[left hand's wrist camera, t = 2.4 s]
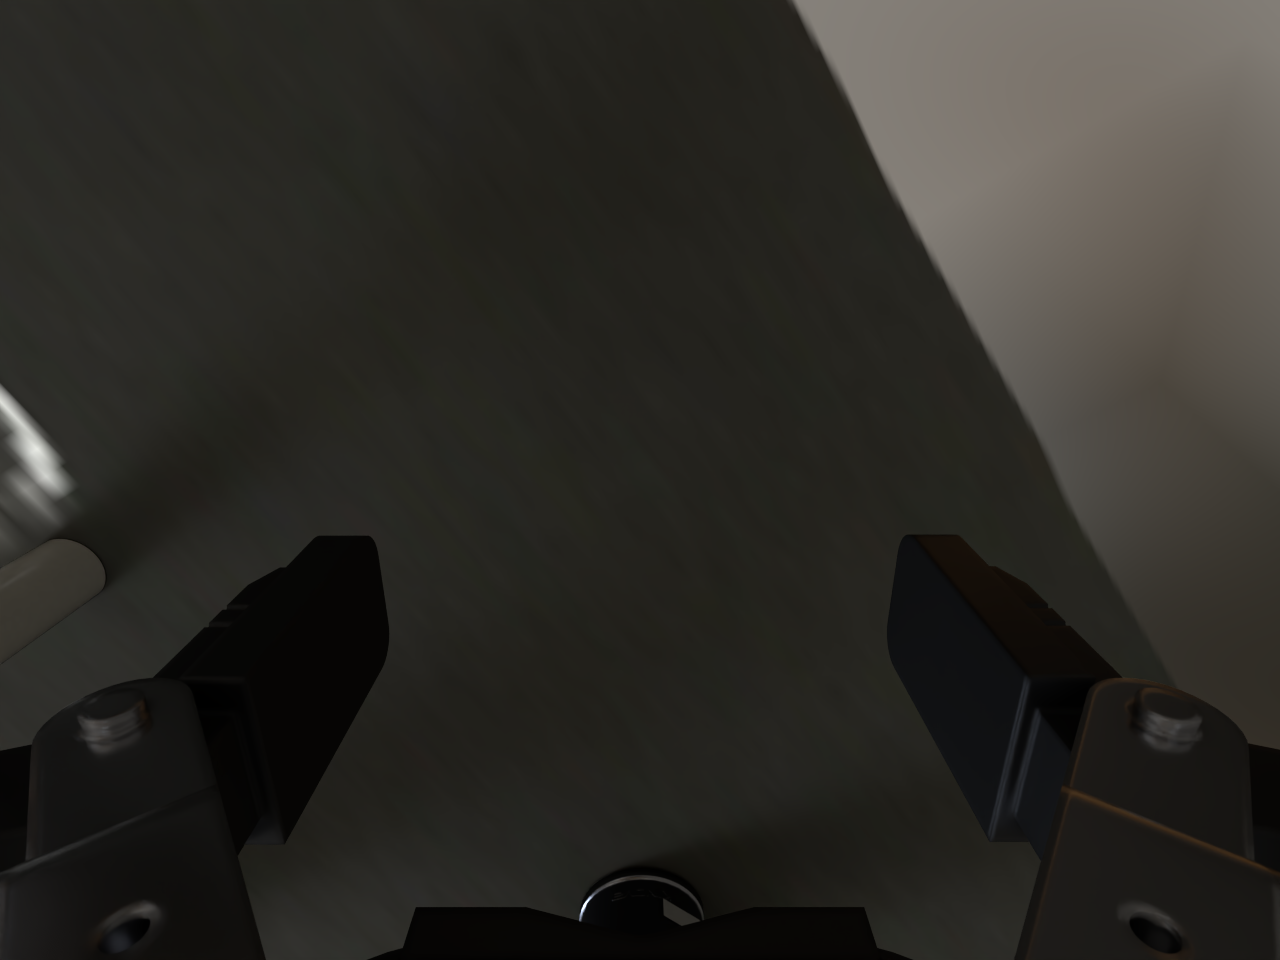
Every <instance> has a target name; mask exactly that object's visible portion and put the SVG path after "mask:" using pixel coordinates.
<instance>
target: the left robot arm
mask: <svg viewBox="0 0 1280 960" xmlns="http://www.w3.org/2000/svg"><path fill="white" fill-rule="evenodd" d="M887 641H888V649H889V654H890V658H891V661H892V664H893V666H894V668H895V670H896V672H897V673H898V675H899V677H900V679H901V681H902V682H903V684H904V686H905V688H906V690H907V692H908V693H909V695H910V697H911V699H912V701H913V703H914V704H915V706H916V708H917V710H918V712H919V714H920V715H921V717H922V719H923V721H924V723H925V724H926V726H927V728H928V730H929V732H930V734H931V735H932V737H933V739H934V741H935V743H936V745H937V746H938V748H939V750H940V752H941V754H942V756H943V757H944V759H945V761H946V763H947V765H948V766H949V768H950V770H951V772H952V774H953V776H954V777H955V779H956V781H957V783H958V785H959V787H960V788H961V790H962V792H963V794H964V796H965V798H966V799H967V801H968V803H969V805H970V807H971V808H972V810H973V812H974V814H975V816H976V818H977V819H978V821H979V823H980V825H981V827H982V829H983V830H984V832H985V834H986V836H987V838H988V840H989V841H990V842H1030V844H1031V845H1032V847H1033V849H1034V850H1035V852H1036V854H1037V855H1038V857H1039V858H1040V860H1041V863H1040V867H1039V871H1038V874H1037V878H1036V882H1035V885H1034V889H1033V893H1032V896H1031V900H1030V903H1029V907H1028V911H1027V914H1026V918H1025V922H1024V925H1023V929H1022V933H1021V936H1020V940H1019V944H1018V947H1017V951H1016V955H1015V958H1014V960H1280V750H1278V749H1273V748H1268V747H1263V746H1258V745H1253V744H1248V742H1247V739H1246V738H1245V736H1244V734H1243V732H1242V731H1241V730H1240V728H1239V727H1238V726H1237V725H1236V724H1235V723H1234V722H1233V721H1232V720H1231V719H1230V718H1229V717H1227V716H1226V715H1225V714H1223V713H1222V712H1221V711H1219V710H1218V709H1216V708H1215V707H1213V706H1212V705H1210V704H1208V703H1207V702H1205V701H1203V700H1201V699H1199V698H1197V697H1195V696H1193V695H1191V694H1188V693H1186V692H1184V691H1182V690H1179V689H1176V688H1173V687H1170V686H1167V685H1164V684H1160V683H1157V682H1152V681H1147V680H1142V679H1134V678H1122V677H1121V676H1120V675H1119V674H1118V673H1117V672H1116V671H1115V670H1114V669H1113V668H1112V667H1111V666H1110V665H1109V664H1108V663H1107V662H1106V661H1105V660H1104V659H1103V658H1102V657H1101V656H1100V655H1099V654H1098V653H1097V652H1096V651H1095V650H1094V649H1093V648H1092V647H1091V646H1090V645H1089V644H1088V643H1087V642H1086V641H1085V640H1084V639H1083V638H1082V637H1081V636H1080V635H1079V634H1078V633H1077V632H1076V631H1075V630H1074V629H1073V628H1072V627H1071V626H1066V625H1065V621H1064V620H1063V619H1062V618H1061V617H1060V616H1059V615H1058V614H1057V613H1056V612H1055V611H1054V610H1053V609H1052V608H1048V604H1047V603H1046V602H1045V601H1044V600H1043V599H1042V598H1041V597H1040V596H1039V595H1038V594H1037V593H1036V592H1035V591H1034V590H1033V589H1032V588H1031V587H1030V586H1029V585H1028V584H1027V583H1025V582H1023V581H1021V580H1019V579H1018V578H1016V577H1014V576H1012V575H1010V574H1008V573H1007V572H1005V571H1003V570H1001V569H999V568H998V567H996V566H988V564H987V563H986V562H985V561H984V560H983V559H982V558H981V557H980V556H979V555H978V554H977V553H976V552H975V551H974V550H973V549H972V548H971V547H970V546H969V545H968V544H967V543H966V542H965V541H964V540H963V538H961V537H960V536H959V535H906V536H904V537H903V539H902V540H901V543H900V546H899V550H898V555H897V562H896V569H895V576H894V583H893V590H892V597H891V603H890V610H889V617H888V625H887ZM388 645H389V624H388V617H387V610H386V604H385V597H384V590H383V583H382V577H381V570H380V563H379V556H378V551H377V547H376V544H375V542H374V540H373V539H372V538H371V537H370V536H317V537H315V538H314V539H313V540H312V541H311V542H310V543H309V544H308V545H307V546H306V547H305V548H304V549H303V550H302V551H301V552H300V554H299V555H298V556H297V557H296V558H295V559H294V560H293V561H292V562H291V563H290V564H289V565H288V566H287V567H286V568H278V569H276V570H275V571H273V572H271V573H269V574H267V575H266V576H264V577H262V578H260V579H258V580H256V581H255V582H253V583H251V584H249V585H248V586H247V587H246V588H245V589H243V590H242V591H241V592H240V593H239V594H238V595H237V596H236V597H235V598H234V599H233V600H232V601H231V602H230V603H229V604H228V605H227V610H222V611H221V612H220V613H219V614H218V615H217V616H216V617H215V618H214V619H213V620H212V621H211V622H210V623H209V627H204V628H203V629H202V630H201V631H200V632H199V633H198V634H197V635H196V636H195V637H194V638H193V639H192V640H191V641H190V642H189V643H188V644H187V645H186V646H185V647H184V648H183V649H182V650H181V651H180V652H179V653H178V654H177V655H176V656H175V657H174V658H173V659H172V660H171V661H170V662H169V663H168V664H166V665H165V666H164V667H163V668H162V669H161V670H160V671H159V672H158V673H157V674H156V675H155V676H154V677H153V678H146V679H138V680H133V681H128V682H123V683H120V684H116V685H113V686H110V687H107V688H104V689H101V690H98V691H96V692H94V693H92V694H89V695H87V696H85V697H83V698H81V699H79V700H77V701H75V702H73V703H72V704H70V705H68V706H67V707H65V708H64V709H62V710H61V711H59V712H58V713H57V714H55V715H54V716H53V717H51V718H50V719H49V720H48V721H47V722H46V723H45V724H44V725H43V726H42V727H41V728H40V730H39V731H38V732H37V734H36V736H35V737H34V739H33V742H32V745H27V746H22V747H17V748H12V749H7V750H2V751H0V960H266V958H265V955H264V951H263V947H262V944H261V940H260V936H259V933H258V929H257V925H256V922H255V918H254V914H253V911H252V907H251V903H250V900H249V896H248V893H247V889H246V885H245V882H244V878H243V874H242V871H241V867H240V863H239V860H238V854H239V852H240V851H241V849H242V848H243V846H244V844H285V843H286V841H287V839H288V837H289V835H290V834H291V832H292V830H293V828H294V826H295V825H296V823H297V821H298V819H299V817H300V816H301V814H302V812H303V810H304V808H305V807H306V805H307V803H308V801H309V799H310V798H311V796H312V794H313V792H314V790H315V789H316V787H317V785H318V783H319V781H320V779H321V778H322V776H323V774H324V772H325V770H326V769H327V767H328V765H329V763H330V761H331V760H332V758H333V756H334V754H335V752H336V751H337V749H338V747H339V745H340V743H341V742H342V740H343V738H344V736H345V734H346V733H347V731H348V729H349V727H350V725H351V724H352V722H353V720H354V718H355V716H356V715H357V713H358V711H359V709H360V707H361V706H362V704H363V702H364V700H365V698H366V697H367V695H368V693H369V691H370V689H371V687H372V686H373V684H374V682H375V680H376V678H377V677H378V675H379V673H380V671H381V669H382V667H383V665H384V663H385V660H386V656H387V651H388ZM368 960H912V959H909V958H907V957H904V956H901V955H899V954H896V953H893V952H890V951H886V950H883V949H879V948H877V946H876V943H875V940H874V937H873V934H872V931H871V927H870V924H869V921H868V918H867V915H866V912H865V909H864V907H753V908H749V909H745V910H741V911H738V912H734V913H730V914H726V915H722V916H718V917H714V918H710V919H706V920H704V912H703V905H702V902H701V900H700V897H699V896H698V894H697V893H696V891H695V890H694V889H693V888H692V887H691V886H690V885H689V884H688V883H686V882H685V881H683V880H682V879H680V878H678V877H676V876H674V875H672V874H669V873H666V872H662V871H657V870H651V869H633V870H626V871H622V872H618V873H615V874H612V875H610V876H607V877H605V878H604V879H602V880H600V881H599V882H597V883H596V884H595V885H594V886H593V887H592V888H591V889H590V890H589V891H588V892H587V893H586V895H585V897H584V899H583V901H582V904H581V908H580V918H579V921H578V920H574V919H570V918H566V917H562V916H558V915H554V914H550V913H546V912H542V911H539V910H535V909H531V908H527V907H416V909H415V912H414V915H413V918H412V921H411V924H410V927H409V931H408V934H407V937H406V940H405V943H404V946H403V948H401V949H397V950H394V951H390V952H387V953H384V954H381V955H379V956H376V957H373V958H371V959H368Z"/></svg>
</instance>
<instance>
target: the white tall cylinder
mask: <svg viewBox="0 0 1280 960" xmlns="http://www.w3.org/2000/svg"><path fill="white" fill-rule="evenodd" d="M105 580H106V575H105V570H104V567H103V565H102V563H101V561H100V560H99V558H98V557H97V556H96V555H95V554H94V553H93V552H92V551H91V550H90V549H88V548H87V547H85V546H84V545H82V544H80V543H77V542H75V541H72V540H67V539H53V540H49V541H46V542H44V543H43V544H41V545H39V546H37V547H36V548H34V549H32V550H30V551H29V552H27V553H25V554H23V555H22V556H20V557H18V558H16V559H15V560H13V561H11V562H9V563H8V564H6V565H4V566H2V567H0V665H1V664H2V663H4V662H5V661H7V660H8V659H9V658H11V657H12V656H14V655H15V654H16V653H18V652H19V651H20V650H22V649H23V648H25V647H26V646H27V645H29V644H30V643H32V642H33V641H34V640H36V639H37V638H38V637H40V636H41V635H43V634H44V633H45V632H47V631H48V630H50V629H51V628H52V627H54V626H55V625H56V624H58V623H59V622H61V621H62V620H63V619H65V618H66V617H67V616H69V615H70V614H72V613H73V612H74V611H76V610H77V609H79V608H80V607H81V606H83V605H84V604H85V603H87V602H88V601H90V600H91V599H92V598H94V597H95V596H97V595H98V594H99V593H100V592H101V591H102V589H103V587H104V585H105Z"/></svg>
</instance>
